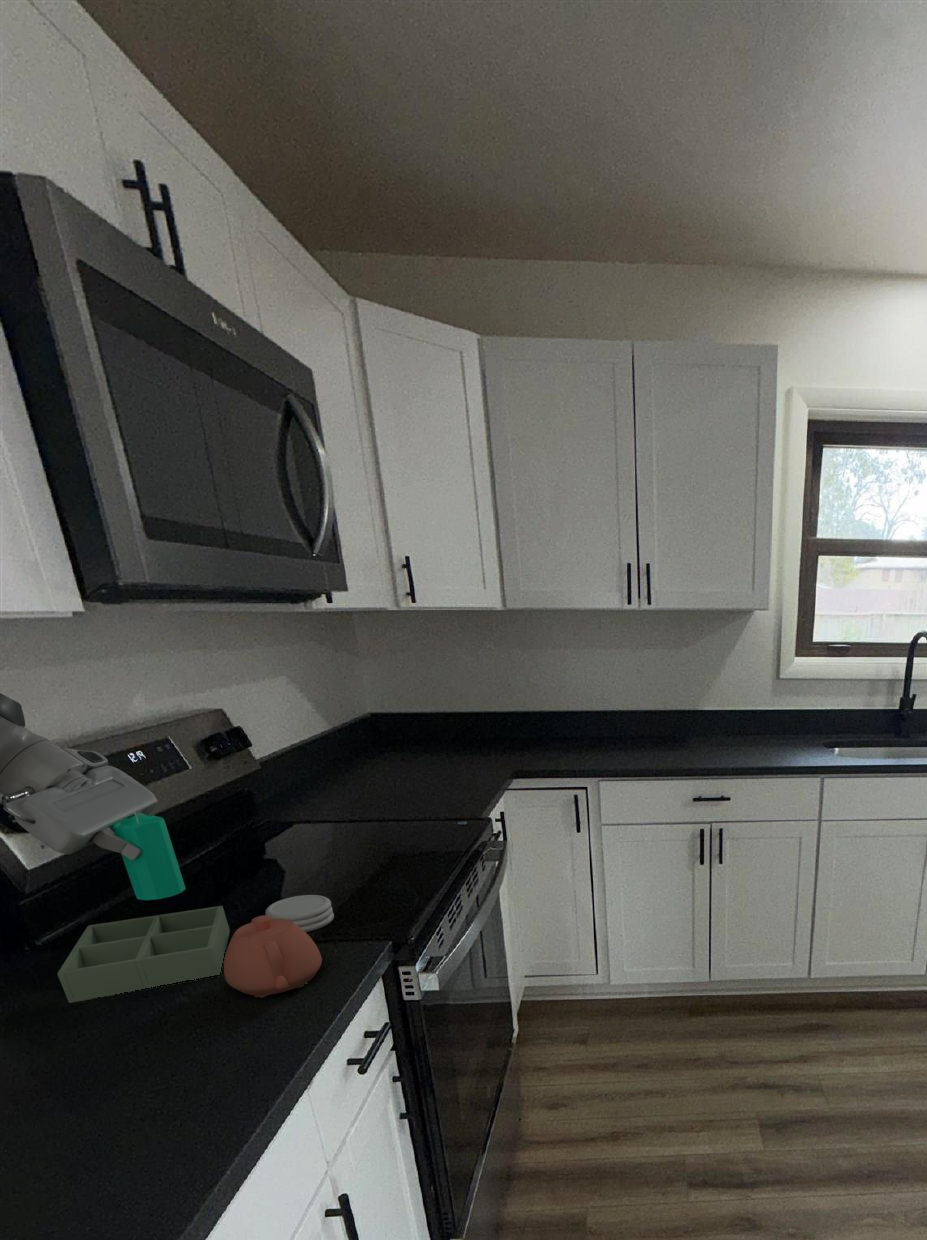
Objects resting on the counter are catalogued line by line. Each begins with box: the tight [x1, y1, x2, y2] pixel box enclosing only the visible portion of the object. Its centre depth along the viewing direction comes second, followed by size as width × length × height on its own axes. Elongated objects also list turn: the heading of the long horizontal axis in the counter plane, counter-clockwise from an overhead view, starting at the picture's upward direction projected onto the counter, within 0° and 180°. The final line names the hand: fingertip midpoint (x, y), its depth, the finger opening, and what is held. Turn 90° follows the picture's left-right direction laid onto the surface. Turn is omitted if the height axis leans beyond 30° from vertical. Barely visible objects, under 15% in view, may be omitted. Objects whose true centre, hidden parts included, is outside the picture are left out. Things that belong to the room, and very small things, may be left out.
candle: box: [111, 810, 186, 901], centre depth 104 cm, size 6×6×12 cm
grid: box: [56, 905, 231, 1004], centre depth 113 cm, size 18×18×5 cm
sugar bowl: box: [223, 914, 323, 998], centre depth 105 cm, size 12×14×10 cm
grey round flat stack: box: [265, 894, 335, 933], centre depth 127 cm, size 10×10×4 cm
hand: (151, 848), depth 103 cm, fingers closed on candle, 5 cm apart
